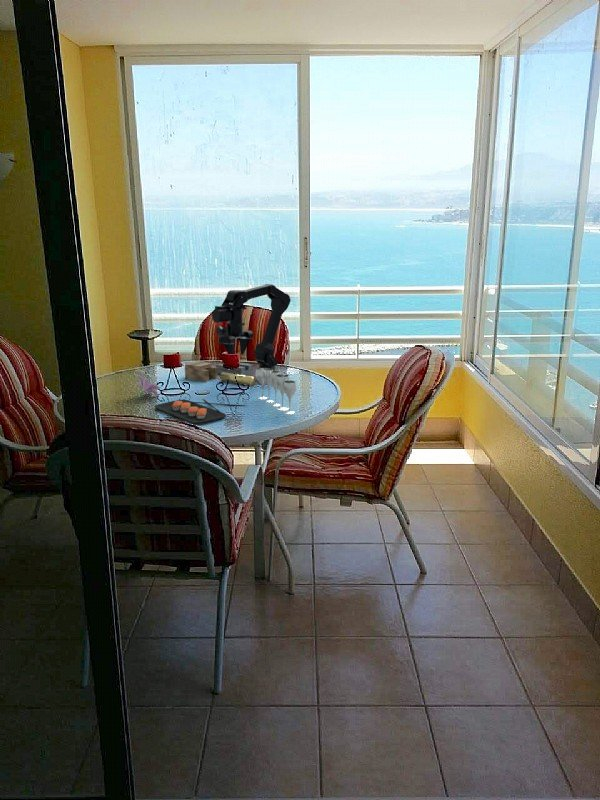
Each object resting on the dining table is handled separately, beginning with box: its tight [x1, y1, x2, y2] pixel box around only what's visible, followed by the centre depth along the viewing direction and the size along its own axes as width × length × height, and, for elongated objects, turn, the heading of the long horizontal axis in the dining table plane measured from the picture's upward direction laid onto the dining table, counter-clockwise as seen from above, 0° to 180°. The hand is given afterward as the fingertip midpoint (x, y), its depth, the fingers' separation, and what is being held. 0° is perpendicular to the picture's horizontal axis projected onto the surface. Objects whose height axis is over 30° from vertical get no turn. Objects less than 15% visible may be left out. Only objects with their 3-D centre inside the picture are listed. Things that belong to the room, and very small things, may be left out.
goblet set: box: [254, 367, 297, 415], centre depth 245 cm, size 28×6×13 cm, turn 30°
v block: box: [215, 362, 254, 376], centre depth 295 cm, size 14×10×4 cm
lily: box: [134, 373, 162, 401], centre depth 253 cm, size 12×12×10 cm
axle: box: [219, 372, 256, 386], centre depth 278 cm, size 16×4×4 cm
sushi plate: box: [154, 398, 247, 424], centre depth 239 cm, size 29×30×4 cm
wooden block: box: [184, 360, 219, 383], centre depth 284 cm, size 12×8×6 cm, turn 62°
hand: (236, 356), depth 273 cm, fingers open, 9 cm apart
